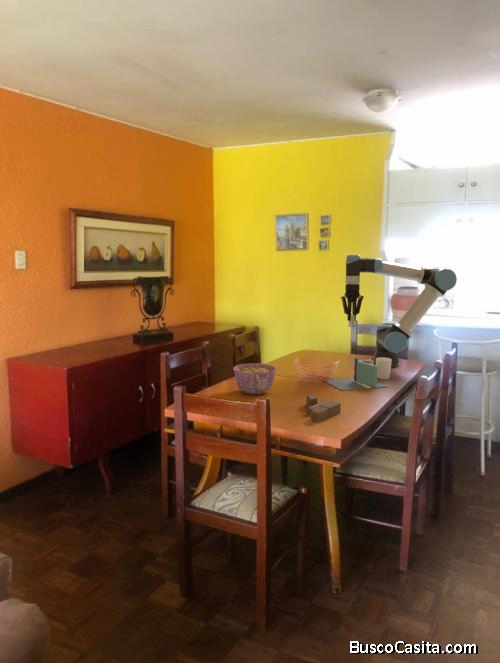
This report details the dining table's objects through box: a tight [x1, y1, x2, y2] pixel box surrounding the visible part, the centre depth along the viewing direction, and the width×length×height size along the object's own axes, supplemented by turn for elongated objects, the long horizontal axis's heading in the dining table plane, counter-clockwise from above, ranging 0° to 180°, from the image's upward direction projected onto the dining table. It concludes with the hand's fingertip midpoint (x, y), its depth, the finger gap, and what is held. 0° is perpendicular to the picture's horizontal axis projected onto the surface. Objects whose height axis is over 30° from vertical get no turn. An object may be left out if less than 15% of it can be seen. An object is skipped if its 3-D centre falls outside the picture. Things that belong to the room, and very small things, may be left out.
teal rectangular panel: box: [356, 360, 378, 387], centre depth 255 cm, size 13×2×10 cm, turn 30°
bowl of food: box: [232, 363, 277, 395], centre depth 241 cm, size 20×20×12 cm
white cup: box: [376, 357, 392, 380], centre depth 271 cm, size 8×8×10 cm
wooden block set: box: [305, 394, 342, 423], centre depth 211 cm, size 17×6×18 cm
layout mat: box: [327, 377, 389, 392], centre depth 258 cm, size 25×20×1 cm
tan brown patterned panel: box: [353, 356, 375, 381], centre depth 263 cm, size 11×2×12 cm, turn 107°
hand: (351, 326), depth 285 cm, fingers closed
